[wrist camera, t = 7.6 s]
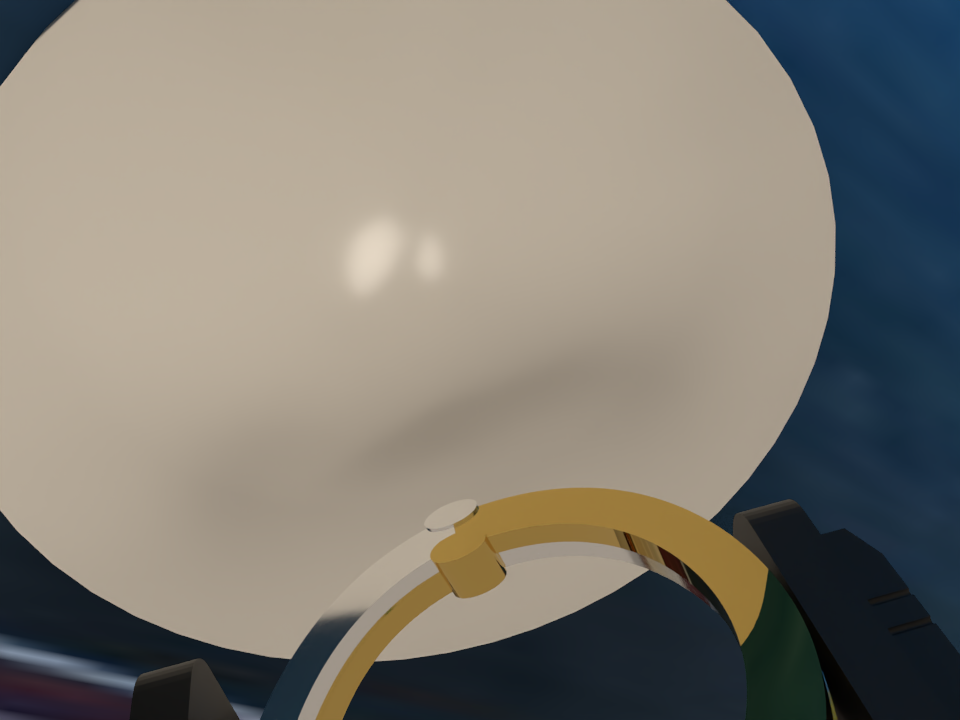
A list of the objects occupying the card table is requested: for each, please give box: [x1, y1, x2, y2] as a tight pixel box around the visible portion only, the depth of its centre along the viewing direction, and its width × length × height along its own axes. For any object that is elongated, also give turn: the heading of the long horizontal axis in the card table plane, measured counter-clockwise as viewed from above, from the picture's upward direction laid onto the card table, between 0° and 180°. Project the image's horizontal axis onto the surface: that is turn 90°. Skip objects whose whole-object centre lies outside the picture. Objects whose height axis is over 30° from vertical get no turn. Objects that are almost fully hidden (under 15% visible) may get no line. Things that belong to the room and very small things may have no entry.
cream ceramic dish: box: [0, 0, 835, 661], centre depth 17 cm, size 16×16×1 cm
